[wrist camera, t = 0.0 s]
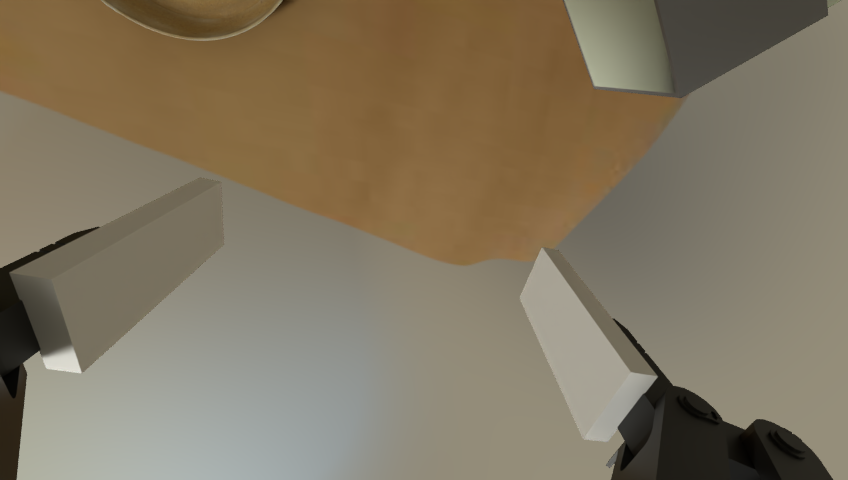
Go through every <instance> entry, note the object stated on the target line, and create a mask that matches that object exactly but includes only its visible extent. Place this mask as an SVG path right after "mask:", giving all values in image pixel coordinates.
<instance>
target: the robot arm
mask: <svg viewBox="0 0 848 480" xmlns="http://www.w3.org/2000/svg"><path fill="white" fill-rule="evenodd" d="M221 189H222V188H221V182H219V181H214V180H209V179H205V178H198V179H196V180H194V181H192V182H190V183H188V184H186V185H184V186H182V187H180V188H178V189H176V190H174V191H172V192H170V193H168V194H166V195H164V196H162V197H160V198H158V199H156V200H154V201H152V202H150V203H148V204H146V205H144V206H142V207H140V208H138V209H136V210H134V211H132V212H130V213H128V214H126V215H124V216H122V217H120V218H118V219H116V220H114V221H112V222H110V223H108V224H106V225H104V226H102V227H95V228H91V229H88V230H84V231H80V232H76V233H73V234H71V235H69V236H67V237H65V238H63V239H61V240H59V241H57V242H55V244H50V245H48V246H46V247H44V248H42V249H40V251H39V252H34V253H31V254H30V255H27V256H25V257H23V258H21V259H19V260H17V261H15V262H13V263H10V264H8V265H6V266H4V267H3V268H0V480H16V479H17V469H18V458H19V449H20V439H21V429H22V418H23V409H24V397H25V389H26V379H27V372H26V370H25V367H24V365H23V362H25V361H26V360H27V359H29V358H30V357H31V356H33V355H34V354H35V353H37V352H38V351H40V353H41V356H42V359H43V361H44V364H45V366H46V369H52V370H60V371H67V372H75V373H82V372H84V371H85V370H86V369H87V368H88V367H89V366H90V365H92V364H93V363H94V362H95V361H96V360H97V359H98V358H99V357H100V356H102V355H103V354H104V353H105V352H106V351H107V350H108V349H109V348H110V347H112V346H113V345H114V344H115V343H116V342H117V341H118V340H119V339H120V338H121V337H122V336H124V335H125V334H126V333H127V332H128V331H129V330H130V329H131V328H132V327H134V326H135V325H136V324H137V323H138V322H139V321H140V320H141V319H142V318H143V317H144V316H146V315H147V314H148V313H149V312H150V311H151V310H152V309H153V308H154V307H156V306H157V305H158V304H159V303H160V302H161V301H162V300H163V299H164V298H165V297H166V296H168V295H169V294H170V293H171V292H172V291H173V290H174V289H175V288H176V287H178V285H180V284H181V283H182V282H183V281H184V280H185V279H186V278H187V277H189V276H190V274H192V273H193V272H194V271H195V270H196V269H197V268H199V267H200V266H201V265H202V264H203V263H204V262H205V261H206V260H207V259H208V258H209V257H211V256H212V255H213V254H214V253H215V252H216V251H217V250H218V249H219V248H221V247H222V246H223V245H224V236H223V235H224V234H223V211H222V190H221ZM520 300H521V303H522V305H523V307H524V309H525V312H526V314H527V316H528V318H529V320H530V322H531V325H532V327H533V329H534V331H535V333H536V336H537V338H538V340H539V342H540V344H541V347H542V349H543V351H544V354H545V356H546V358H547V360H548V362H549V365H550V367H551V369H552V371H553V373H554V376H555V378H556V380H557V382H558V384H559V387H560V389H561V391H562V393H563V396H564V398H565V400H566V402H567V404H568V406H569V409H570V411H571V413H572V416H573V417H574V420H575V422H576V424H577V427H578V429H579V431H580V433H581V435H582V438H583V439H587V440H595V441H603V442H608V441H609V439H610V438H611V437H612V435H613V434H614V433H615V432H616V430H617V429H618V430H619V431H620V433H621V435H622V437H623V438H624V440H625V441H624V443H623V444H622V445H621V446H620V448H619V449H618V450H617V451H616V453H615V454H614V455H613V456H612V457H611V459H610V460H609V461H608V463H607V464H606V466H608V467H609V468H610V467H611V466H612V465H613V464H615V466H614V470H613V474H612V478H611V480H833V479H832V477H831V476H830V474H829V473H828V471H827V470H826V468H825V467H824V466H823V464H822V462H821V461H820V460H819V458H818V457H817V456H816V455H815V453H814V452H813V451H812V450H811V449H810V448H809V447H808V446H807V445H806V444H804V443H803V442H802V440H801V439H799V438H798V437H797V436H796V435H794V434H792V432H790V431H788V430H787V429H785V428H782V427H780V426H778V425H776V424H775V423H772V422H769V421H766V420H763V419H757V420H755V421H754V422H753V423H752V424H751V425H750V426H749V427H748V428H747V429H746V430H744V429H742V428H739V427H737V426H734V425H732V424H729V423H727V422H724V421H723V420H722V418H721V417H720V415H719V414H718V413H717V411H716V410H715V409H714V408H713V407H712V406H711V405H709V404H708V403H707V402H706V401H705V400H704V399H702V398H701V397H699V396H698V395H696V394H695V393H693V392H691V391H689V390H687V389H685V388H681V387H677V386H673V385H672V384H671V383H670V381H669V380H668V379H667V378H666V376H665V375H664V374H663V373H662V371H661V370H660V369H659V368H658V366H657V365H656V364H655V363H654V361H653V360H652V359H651V358H650V357H649V355H648V354H647V353H645V350H644V349H643V348H642V347H641V345H640V344H638V343H637V341H636V339H635V338H634V337H633V336H632V334H631V333H630V332H629V331H628V330H627V329H626V328H625V327H624V326H623V325H621V324H620V323H619V322H618V321H616V320H615V319H613V318H611V316H610V315H609V314H608V313H607V311H606V310H605V309H604V308H603V306H602V305H601V304H600V302H599V301H598V300H597V299H596V297H595V296H594V295H593V293H592V292H591V291H590V290H589V288H588V287H587V286H586V285H585V284H584V282H583V281H582V280H581V278H580V277H579V276H578V274H577V273H576V272H575V271H574V270H573V268H572V267H571V266H570V264H569V263H568V262H567V261H566V259H565V258H564V257H563V255H562V254H561V253H560V252H559V250H554V249H549V248H544V247H542V248H541V251H540V253H539V255H538V257H537V260H536V262H535V264H534V266H533V269H532V271H531V274H530V275H529V278H528V280H527V283H526V285H525V287H524V289H523V291H522V294H521V296H520Z"/></svg>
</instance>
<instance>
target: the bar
mask: <svg viewBox="0 0 848 480" xmlns="http://www.w3.org/2000/svg"><path fill="white" fill-rule="evenodd" d="M839 1H841V0H563V2H564V5H565V8H566V11H567V14H568V17H569V19H570V22H571V25H572V28H573V31H574V34H575V36H576V39H577V42H578V45H579V48H580V51H581V53H582V56H583V59H584V62H585V65H586V68H587V70H588V73H589V76H590V79H591V82H592V85H593V87H594V89H601V90H610V91H620V92H629V93H638V94H648V95H657V96H667V97H676V98H682V97H684V96H686V95H687V94H689V93H691V92H693V91H694V90H696V89H698V88H700V87H702V86H703V85H705V84H707V83H709V82H710V81H712V80H714V79H716V78H717V77H719V76H721V75H723V74H725V73H726V72H728V71H730V70H731V69H733V68H735V67H737V66H739V65H740V64H742V63H744V62H746V61H748V60H749V59H751V58H753V57H755V56H757V55H758V54H760V53H762V52H763V51H765V50H767V49H769V48H771V47H772V46H774V45H776V44H778V43H780V42H781V41H783V40H785V39H787V38H788V37H790V36H792V35H794V34H796V33H797V32H799V31H801V30H802V29H804V28H806V27H807V26H810V25H812V24H813V23H815V22H817V21H819V20H820V19H822V18H824V17H826V16H827V15H828V8H829V7H831V6H832V5H834V4H836V3H838V2H839Z"/></svg>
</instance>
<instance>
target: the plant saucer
mask: <svg viewBox="0 0 848 480" xmlns="http://www.w3.org/2000/svg"><path fill="white" fill-rule="evenodd" d="M101 1H102V2H103V3H105V4H106V5H108V6H109V7H110V8H112V9H113V10H115V11H116V12H118V13H120V14H121V15H123V16H124V17H126V18H128V19H130V20H131V21H133V22H135V23H137V24H139V25H141V26H143V27H145V28H148V29H150V30H152V31H155V32H158V33H161V34H164V35H168V36H171V37H175V38H181V39H186V40H196V41H207V40H219V39H224V38H228V37H232V36H235V35H238V34H240V33H243V32H245V31H247V30H249V29H251V28H253V27H254V26H256V25H258V24H259V23H261V22H262V21H263V20H264V19H266V18H267V17H268V16H269V15H270V14H271V13H272V12H273V11H274V10H275V9H276V8H277V7H278V6H279V5H280V3H281V2H282V1H283V0H101Z"/></svg>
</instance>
